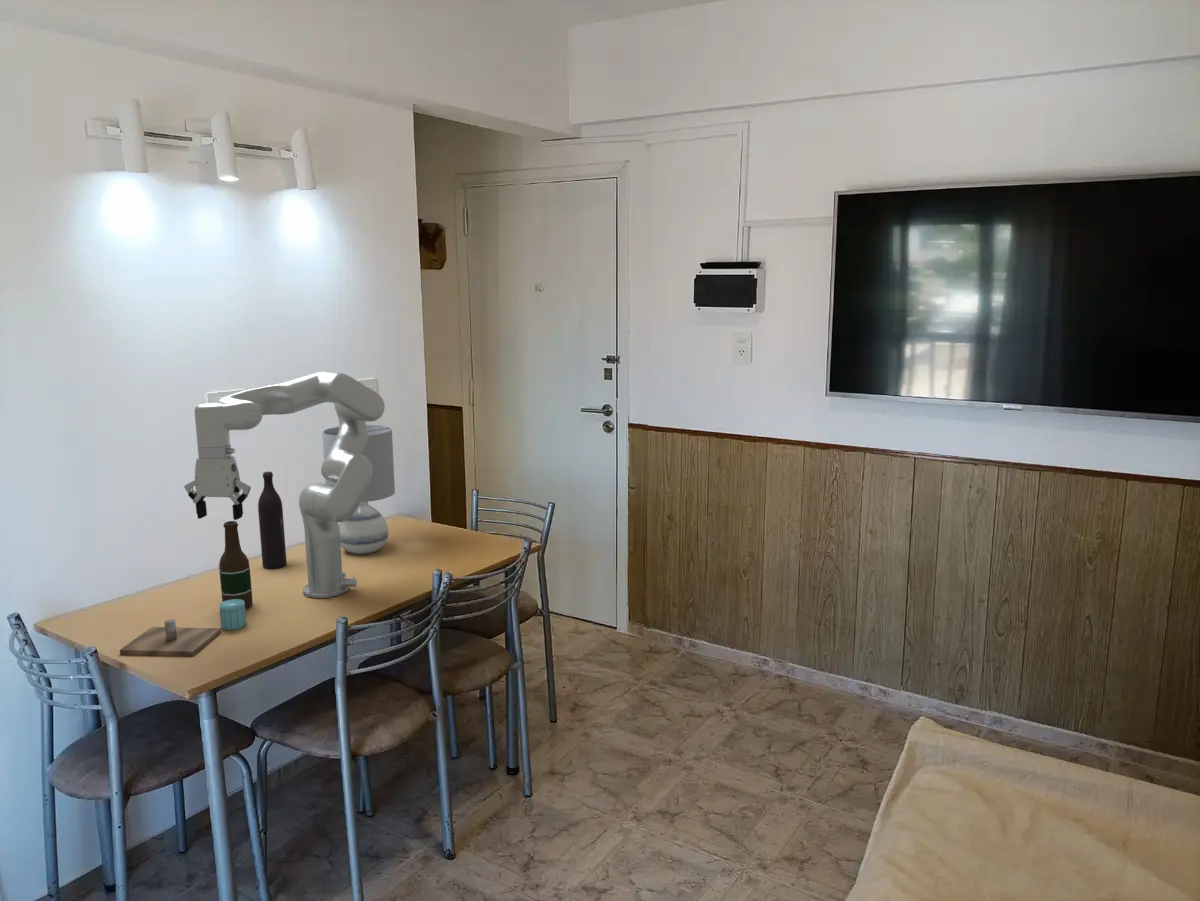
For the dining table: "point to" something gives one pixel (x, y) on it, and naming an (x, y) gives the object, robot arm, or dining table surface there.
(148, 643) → the post board
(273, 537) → the wine bottle
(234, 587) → the beer bottle
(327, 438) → the lamp
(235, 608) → the cap
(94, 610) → the dining table surface
